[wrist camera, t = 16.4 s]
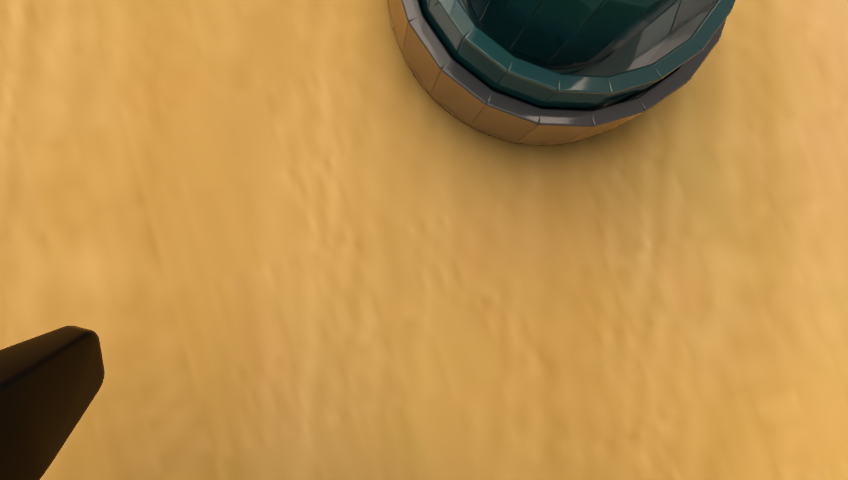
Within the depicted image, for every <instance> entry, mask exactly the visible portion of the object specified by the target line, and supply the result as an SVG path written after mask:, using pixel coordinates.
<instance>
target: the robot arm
mask: <svg viewBox="0 0 848 480" xmlns="http://www.w3.org/2000/svg"><path fill="white" fill-rule="evenodd" d="M103 379H104V366H103V360H102V354H101V348H100V342H99V337H98V335H97V334H96V333H95V332H94V331H92V330H88V329H84V328H80V327H76V326H65V327H62V328H60V329H57V330H54V331H51V332H49V333H46V334H43V335H40V336H38V337H35V338H32V339H29V340H27V341H24V342H21V343H18V344H16V345H13V346H10V347H7V348H5V349H2V350H0V480H40V478H41V477H42V476H43V474H44V473H45V471H46V470H47V469H48V467H49V466H50V464H51V463H52V461H53V460H54V458H55V457H56V455H57V454H58V452H59V451H60V449H61V448H62V446H63V445H64V443H65V441H66V440H67V438H68V437H69V435H70V434H71V432H72V431H73V429H74V428H75V426H76V424H77V423H78V421H79V420H80V418H81V417H82V415H83V414H84V412H85V411H86V409H87V408H88V406H89V404H90V403H91V401H92V400H93V398H94V397H95V395H96V394H97V392H98V391H99V389H100V387H101V385H102V383H103Z"/></svg>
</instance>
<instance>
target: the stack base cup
mask: <svg viewBox="0 0 848 480" xmlns="http://www.w3.org/2000/svg"><path fill="white" fill-rule="evenodd" d="M388 4H389V11H390V15H391V20H392V25H393V30H394V33H395V36H396V39H397V41H398V44H399V47H400V50H401V52H402V54H403V56H404V58H405V60H406V62H407V64H408V66H409V68H410V69H411V71H412V72H413V74H414V75H415V77H416V78H417V80H418V81H419V83H420V84H421V85H422V86H423V87H424V89H425V90H426V91H427V92H428V93H429V94H430V95H431V97H432V98H433V99H434V100H435V101H436V102H437V103H439V104H440V105H441V106H442V107H443V108H444V109H445V110H447V111H448V112H449V113H450V114H452V115H453V116H455V117H456V118H458V119H459V120H460V121H462V122H463V123H465V124H467V125H469V126H471V127H473V128H475V129H477V130H479V131H480V132H482V133H485V134H488V135H491V136H493V137H496V138H499V139H502V140H506V141H511V142H516V143H521V144H532V145H554V144H564V143H569V142H574V141H579V140H582V139H585V138H588V137H591V136H594V135H597V134H599V133H603V132H606V131H609V130H611V129H613V128H615V127H617V126H619V125H621V124H623V123H625V122H627V121H629V120H630V119H632V118H634V117H636V116H638V115H640V114H642V113H644V112H646V111H647V110H649V109H650V108H652V107H653V106H654V105H656V104H657V103H659V102H660V101H662V100H663V99H664V98H666V97H667V96H669V95H670V94H672V93H673V92H674V91H676V90H677V89H679V88H680V87H682V86H683V85H684V84H686V83H687V82H688V81H689V80H690V79H691V77H692V76H693V75H694V73H695V72H696V71H697V69H698V68H699V67H700V65H701V64H702V62H703V61H704V60H705V58H706V57H707V56H708V54H709V53H710V52H711V50H712V49H713V47H714V46H715V45H716V43H717V42H718V41H719V38H720V36H721V33H722V30H723V27H724V24H725V21H726V19H725V20H724V22H723V23H722V24H721V26H720V27H719V28H718V30H717V31H716V32H715V34H714V35H713V37H712V38H711V39H710V41H709V42H708V43H707V45H706V46H705V47H704V49H703V50H701V52H699V53H698V54H697V55H695V56H694V57H692V58H691V59H689V60H688V61H687V62H685V63H684V64H682V65H681V66H679V67H678V68H677V69H675V70H674V71H672V72H671V73H669V74H668V75H666V76H665V77H664V78H662V79H661V80H659V81H657V82H656V83H654V84H652V85H651V86H649V87H647V88H646V89H644V90H642V91H641V92H639V93H638V94H636V95H634V96H633V97H631V98H629V99H628V100H626V101H623V102H620V103H616V104H613V105H609V106H606V107H603V108H599V109H596V110H592V111H582V110H558V109H540V108H538V107H535V106H532V105H530V104H527V103H524V102H521V101H519V100H516V99H513V98H511V97H508V96H505V95H503V94H500V93H497V92H495V91H493V90H491V89H490V88H489V87H488V86H486V85H485V84H484V83H482V82H481V81H480V80H479V79H477V78H476V77H475V76H474V75H472V74H471V73H470V72H468V71H467V70H466V69H465V68H463V67H462V66H461V65H460V64H458V63H457V62H456V61H454V60H453V59H452V58H451V56H450V55H449V53H448V52H447V50H446V49H445V47H444V46H443V44H442V43H441V41H440V40H439V39H438V37H437V36H436V34H435V33H434V31H433V30H432V28H431V27H430V25H429V24H428V22H427V21H426V20H425V18H424V17H423V14H422V11H421V8H420V4H419V1H418V0H388ZM726 18H727V17H726Z"/></svg>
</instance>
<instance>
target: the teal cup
mask: <svg viewBox="0 0 848 480" xmlns="http://www.w3.org/2000/svg"><path fill="white" fill-rule="evenodd" d="M676 1H677V0H464V2H465V5H466V7H467V10H468V11H469V13H470V15H471V17H472V19H473V20H474V22H475V23H476V24H477V26H478V27H479V29H480V30H481V31H482V32H484V33H485V34H486V35H487V36H489V37H490V38H491V39H493V40H494V41H495V42H496V43H498V44H499V45H500V46H501V47H503V48H504V49H505V50H506V51H508V52H509V53H510V54H512V55H513V56H514V57H516V58H519V59H521V60H524V61H527V62H529V63H532V64H534V65H537V66H542V67H548V68H569V67H577V66H581V65H585V64H588V63H591V62H594V61H596V60H599V59H601V58H602V57H604V56H606V55H608V54H610V53H611V52H612V51H614V50H615V49H617V48H619V47H621V46H623V45H624V44H625V43H626V42H628V41H629V40H630V39H631V38H633V37H634V36H635V35H636V34H637V33H639V32H640V31H641V30H642V29H643V28H645V27H646V26H647V25H648V24H649V23H651V22H652V21H653V20H654V19H655V18H657V17H658V16H659V15H660V14H661V13H663V12H664V11H665V10H666V9H668V8H669V7H670V6H671V5H672V4H674V3H675V2H676Z"/></svg>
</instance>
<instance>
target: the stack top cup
mask: <svg viewBox="0 0 848 480" xmlns="http://www.w3.org/2000/svg"><path fill="white" fill-rule="evenodd" d="M418 1H419V4H420V8H421V11H422V14H423V17H424V18H425V20H426V21H427V22H428V24H429V25H430V27H431V28H432V30H433V31H434V33H435V34H436V36H437V37H438V39H439V40H440V41H441V43H442V44H443V46H444V47H445V49H446V50H447V52H448V53H449V55H450V56H451V58H452V59H453V60H454V61H456V62H457V63H458V64H460V65H461V66H462V67H463V68H465V69H466V70H467V71H468V72H470V73H471V74H472V75H474V76H475V77H476V78H477V79H479V80H480V81H481V82H482V83H484V84H485V85H486V86H488V87H489V88H490V89H491V90H493V91H495V92H497V93H500V94H503V95H505V96H508V97H511V98H513V99H516V100H519V101H521V102H524V103H527V104H530V105H532V106H535V107H538V108H540V109H558V110H582V111H592V110H596V109H599V108H603V107H606V106H609V105H613V104H616V103H620V102H623V101H626V100H628V99H629V98H631V97H633V96H634V95H636V94H638V93H639V92H641V91H642V90H644V89H646V88H647V87H649V86H651V85H652V84H654V83H656V82H657V81H659V80H661V79H662V78H664V77H665V76H666V75H668V74H669V73H671V72H672V71H674V70H675V69H677V68H678V67H679V66H681V65H682V64H684V63H685V62H687V61H688V60H689V59H691V58H692V57H694V56H695V55H697V54H698V53H699V52H701V50H703V49H704V47H705V46H706V45H707V43H708V42H709V41H710V39H711V38H712V37H713V35H714V34H715V32H716V31H717V30H718V28H719V27H720V26H721V24H722V23H723V22H724V20H725V19H726V17H727V16H728V15H729V13H730V12H731V10H732V8H733V6H734V2H735V0H677V1H676V2H675V3H674V4H672V5H671V6H670V7H669V8H668V9H666V10H665V11H664V12H663V13H661V14H660V15H659V16H658V17H657V18H655V19H654V20H653V21H652V22H651V23H649V24H648V25H647V26H646V27H645V28H643V29H642V30H641V31H640V32H639V33H637V34H636V35H635V36H634V37H633V38H631V39H630V40H629V41H628V42H626V43H625V44H624V45H623V46H621V47H619V48H617V49H615V50H614V51H612V52H611V53H610V54H608V55H606V56H604V57H602V58H601V59H599V60H596V61H594V62H591V63H588V64H585V65H581V66H577V67H569V68H548V67H542V66H537V65H534V64H532V63H529V62H527V61H524V60H521V59H519V58H516V57H514V56H513V55H512V54H510V53H509V52H508V51H506V50H505V49H504V48H503V47H501V46H500V45H499V44H498V43H496V42H495V41H494V40H493V39H491V38H490V37H489V36H487V35H486V34H485V33H484V32H482V31H481V30H480V29H479V27H478V26H477V24H476V23H475V22H474V20H473V19H472V17H471V15H470V13H469V11H468V10H467V7H466V5H465V2H464V0H418Z"/></svg>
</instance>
